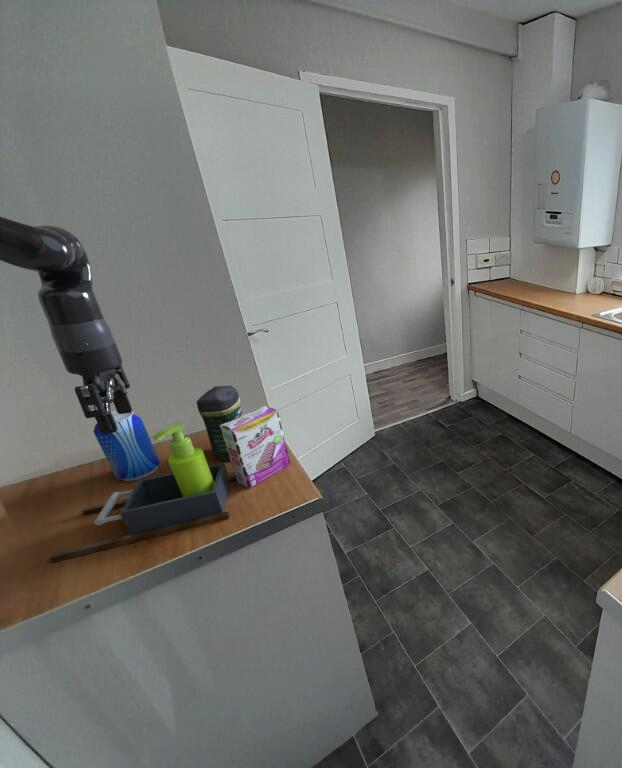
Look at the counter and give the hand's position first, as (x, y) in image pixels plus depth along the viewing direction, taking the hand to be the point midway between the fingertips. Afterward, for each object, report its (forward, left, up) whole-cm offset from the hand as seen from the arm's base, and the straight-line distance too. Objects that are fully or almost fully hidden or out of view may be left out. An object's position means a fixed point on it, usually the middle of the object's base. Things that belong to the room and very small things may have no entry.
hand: (118, 422), depth 80 cm
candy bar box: (+21, +4, -22) cm, 31 cm away
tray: (+4, -3, -21) cm, 22 cm away
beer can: (-7, +17, -22) cm, 29 cm away
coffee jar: (+13, +18, -22) cm, 31 cm away
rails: (+1, -3, -22) cm, 22 cm away
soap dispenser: (+9, -3, -22) cm, 24 cm away
